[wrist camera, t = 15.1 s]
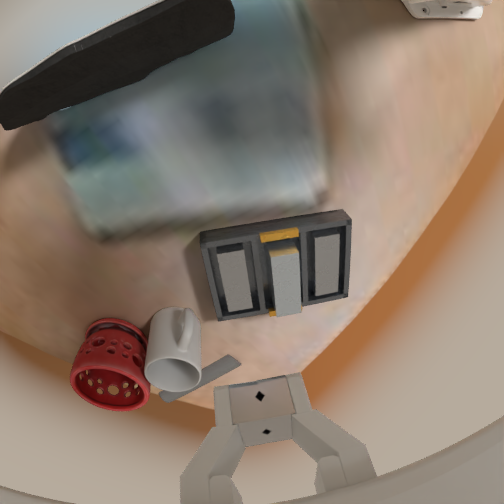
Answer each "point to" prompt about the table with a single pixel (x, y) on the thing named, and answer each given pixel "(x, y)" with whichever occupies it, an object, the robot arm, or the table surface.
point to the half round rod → (205, 376)
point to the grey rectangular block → (283, 276)
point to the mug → (174, 350)
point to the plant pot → (112, 365)
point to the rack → (255, 269)
